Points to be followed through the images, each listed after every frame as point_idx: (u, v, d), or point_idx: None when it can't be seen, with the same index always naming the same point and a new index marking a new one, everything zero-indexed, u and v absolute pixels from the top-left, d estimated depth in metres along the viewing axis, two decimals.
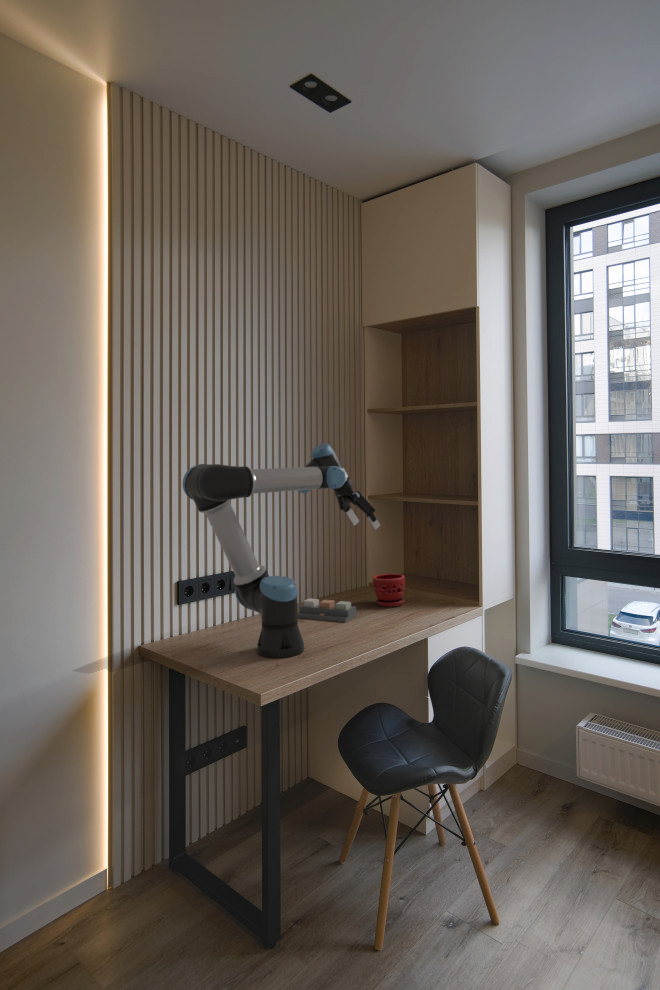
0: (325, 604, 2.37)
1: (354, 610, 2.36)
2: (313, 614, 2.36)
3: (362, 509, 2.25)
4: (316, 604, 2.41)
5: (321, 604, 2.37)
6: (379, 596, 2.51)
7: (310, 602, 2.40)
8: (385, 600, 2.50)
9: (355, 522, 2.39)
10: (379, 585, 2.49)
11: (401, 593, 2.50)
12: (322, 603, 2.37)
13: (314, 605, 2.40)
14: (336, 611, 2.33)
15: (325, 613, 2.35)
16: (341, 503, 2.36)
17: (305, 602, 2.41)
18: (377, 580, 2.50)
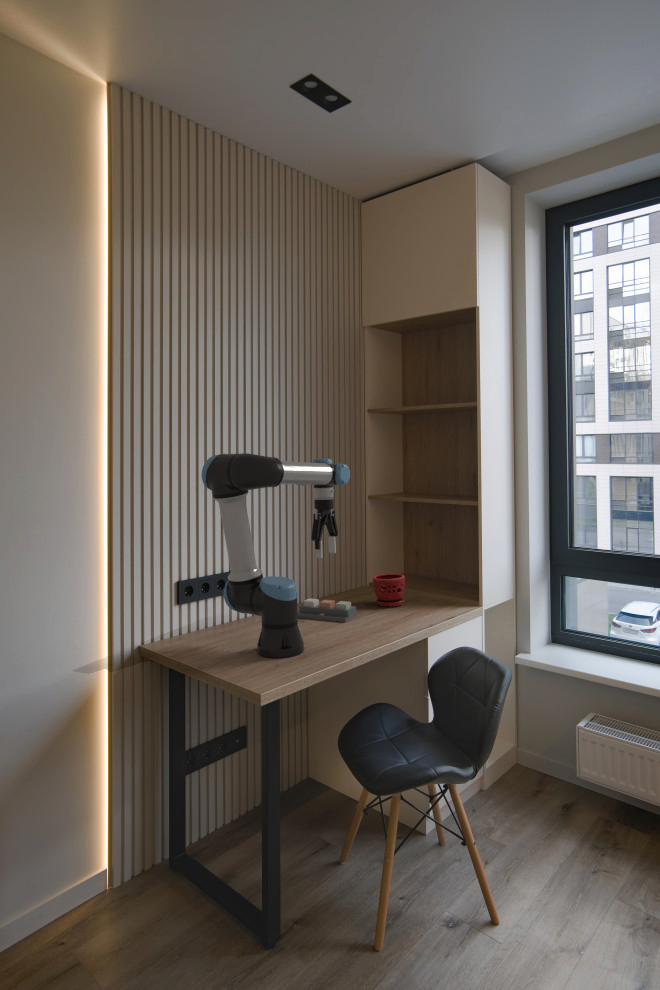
0: (325, 604, 2.37)
1: (354, 610, 2.36)
2: (313, 614, 2.36)
3: None
4: (316, 604, 2.41)
5: (321, 604, 2.37)
6: (379, 596, 2.51)
7: (310, 602, 2.40)
8: (385, 600, 2.50)
9: (330, 550, 2.43)
10: (379, 585, 2.49)
11: (401, 593, 2.50)
12: (322, 603, 2.37)
13: (314, 605, 2.40)
14: (336, 611, 2.33)
15: (325, 613, 2.35)
16: None
17: (305, 602, 2.41)
18: (377, 580, 2.50)
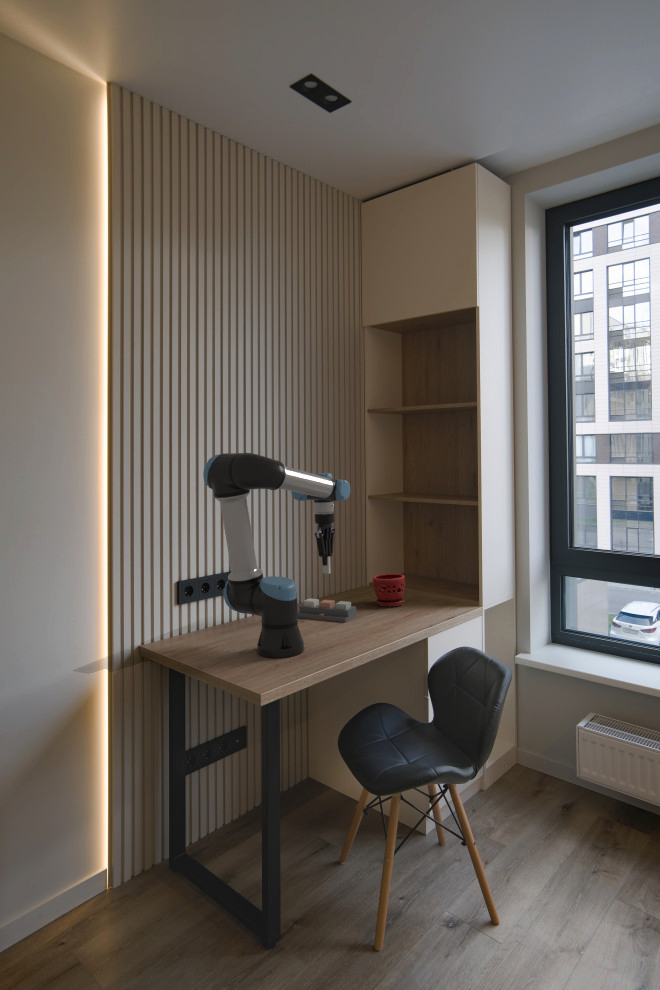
0: (325, 604, 2.37)
1: (354, 610, 2.36)
2: (313, 614, 2.36)
3: None
4: (316, 604, 2.41)
5: (321, 604, 2.37)
6: (379, 596, 2.51)
7: (310, 602, 2.40)
8: (385, 600, 2.50)
9: None
10: (379, 585, 2.49)
11: (401, 593, 2.50)
12: (322, 603, 2.37)
13: (314, 605, 2.40)
14: (336, 611, 2.33)
15: (325, 613, 2.35)
16: None
17: (305, 602, 2.41)
18: (377, 580, 2.50)
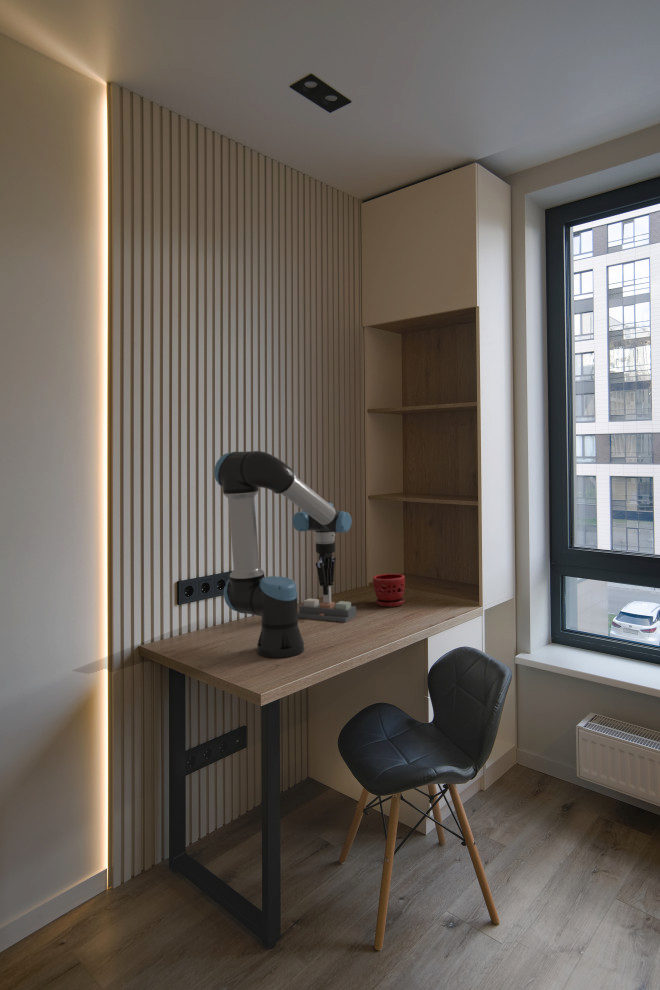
0: (325, 606, 2.37)
1: (354, 610, 2.36)
2: (313, 614, 2.36)
3: None
4: (316, 604, 2.41)
5: (321, 606, 2.38)
6: (379, 596, 2.51)
7: (310, 602, 2.40)
8: (385, 600, 2.50)
9: None
10: (379, 585, 2.49)
11: (401, 593, 2.50)
12: (322, 605, 2.37)
13: (314, 605, 2.40)
14: (336, 611, 2.33)
15: (325, 613, 2.35)
16: None
17: (305, 602, 2.41)
18: (377, 580, 2.50)
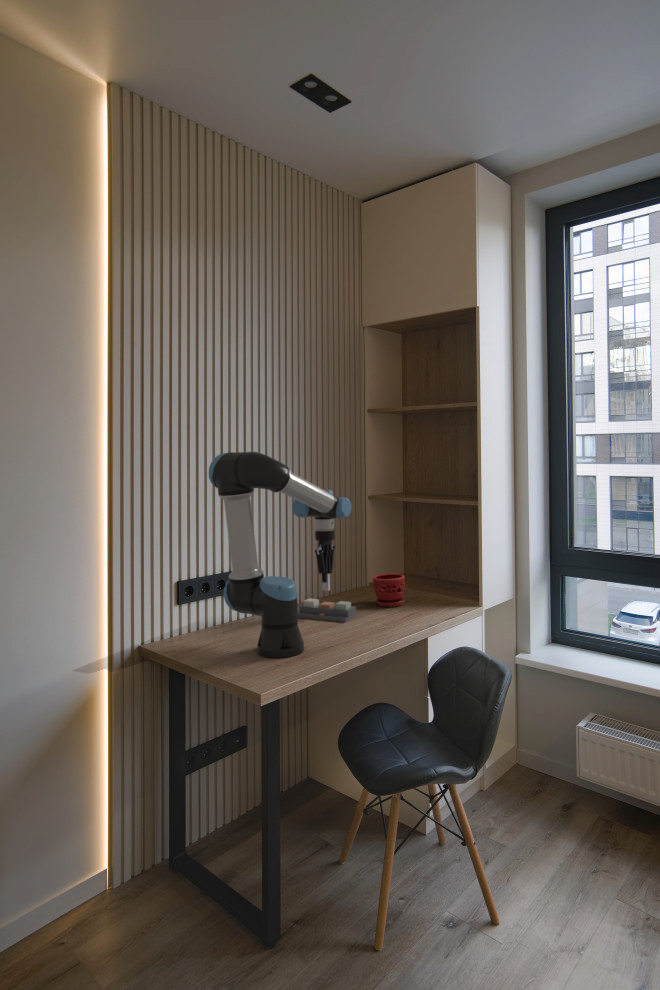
0: (325, 606, 2.37)
1: (354, 610, 2.36)
2: (313, 614, 2.36)
3: None
4: (316, 604, 2.41)
5: (321, 606, 2.38)
6: (379, 596, 2.51)
7: (310, 602, 2.40)
8: (385, 600, 2.50)
9: None
10: (379, 585, 2.49)
11: (401, 593, 2.50)
12: (322, 605, 2.37)
13: (314, 605, 2.40)
14: (336, 611, 2.33)
15: (325, 613, 2.35)
16: None
17: (305, 602, 2.41)
18: (377, 580, 2.50)
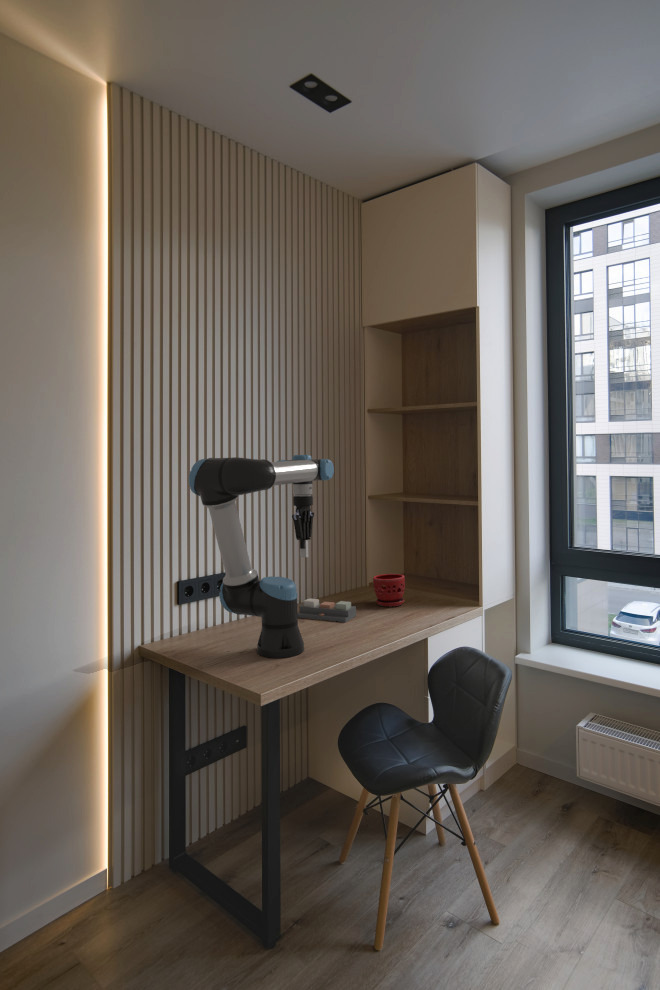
0: (325, 606, 2.37)
1: (354, 610, 2.36)
2: (313, 614, 2.36)
3: None
4: (316, 604, 2.41)
5: (321, 606, 2.38)
6: (379, 596, 2.51)
7: (310, 602, 2.40)
8: (385, 600, 2.50)
9: None
10: (379, 585, 2.49)
11: (401, 593, 2.50)
12: (322, 605, 2.37)
13: (314, 605, 2.40)
14: (336, 611, 2.33)
15: (325, 613, 2.35)
16: None
17: (305, 602, 2.41)
18: (377, 580, 2.50)
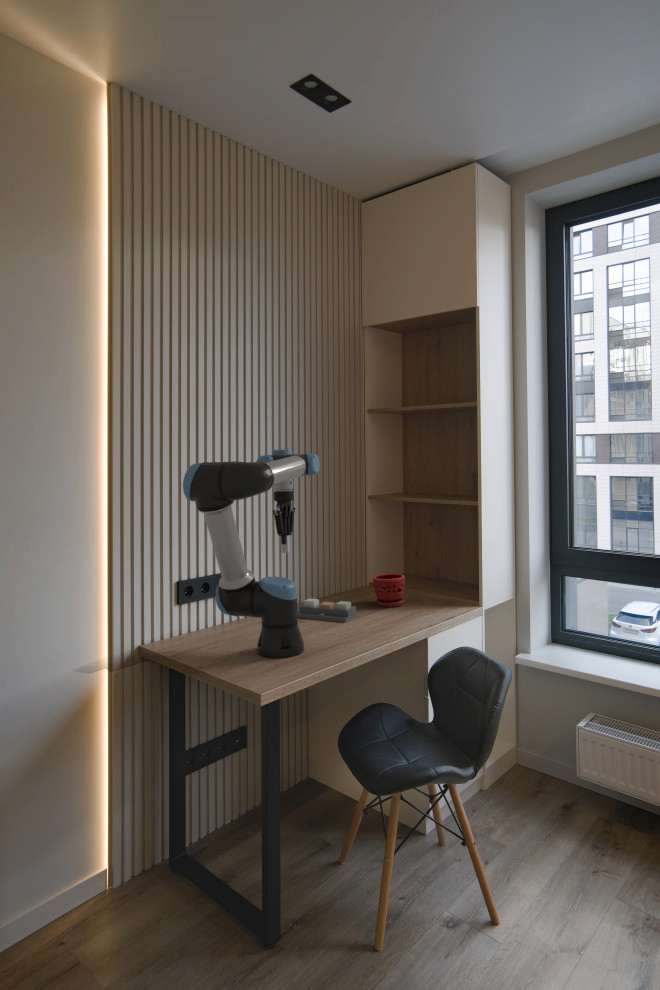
0: (325, 606, 2.37)
1: (354, 610, 2.36)
2: (313, 614, 2.36)
3: None
4: (316, 604, 2.41)
5: (321, 606, 2.38)
6: (379, 596, 2.51)
7: (310, 602, 2.40)
8: (385, 600, 2.50)
9: None
10: (379, 585, 2.49)
11: (401, 593, 2.50)
12: (322, 605, 2.37)
13: (314, 605, 2.40)
14: (336, 611, 2.33)
15: (325, 613, 2.35)
16: None
17: (305, 602, 2.41)
18: (377, 580, 2.50)
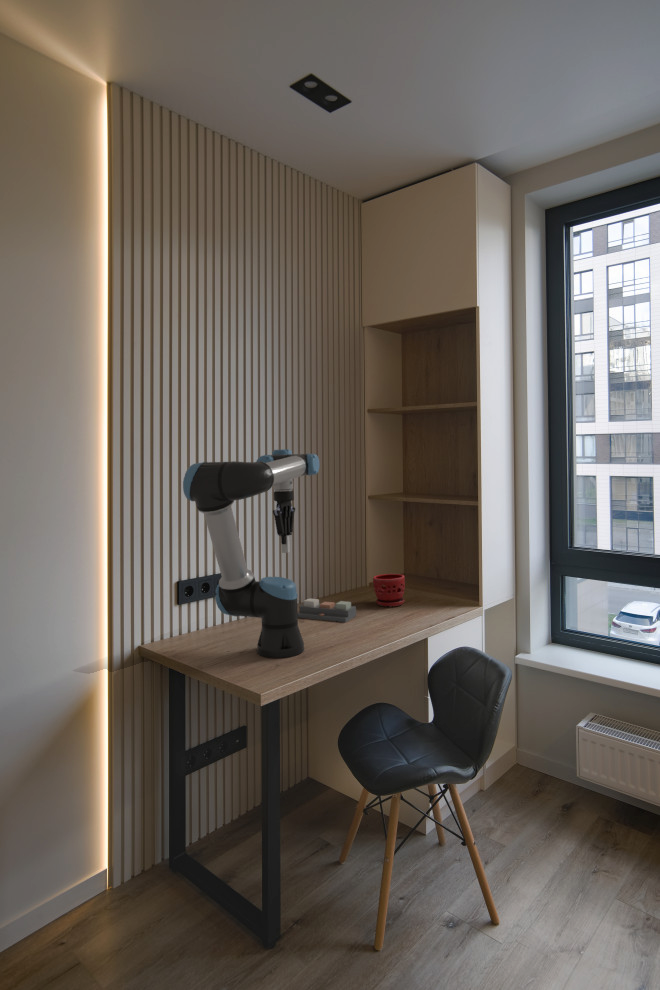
0: (325, 606, 2.37)
1: (354, 610, 2.36)
2: (313, 614, 2.36)
3: None
4: (316, 604, 2.41)
5: (321, 606, 2.38)
6: (379, 596, 2.51)
7: (310, 602, 2.40)
8: (385, 600, 2.50)
9: None
10: (379, 585, 2.49)
11: (401, 593, 2.50)
12: (322, 605, 2.37)
13: (314, 605, 2.40)
14: (336, 611, 2.33)
15: (325, 613, 2.35)
16: None
17: (305, 602, 2.41)
18: (377, 580, 2.50)
